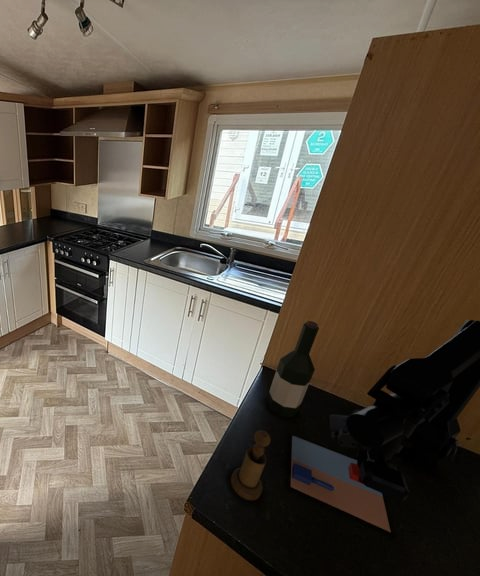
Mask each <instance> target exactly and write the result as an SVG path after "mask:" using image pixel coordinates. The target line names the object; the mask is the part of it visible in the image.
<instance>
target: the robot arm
mask: <svg viewBox="0 0 480 576" xmlns="http://www.w3.org/2000/svg"><path fill="white" fill-rule="evenodd" d="M384 387H385V388H386V390H388V391H389V392H391V393H390V394H389V393H388V392H386V391H384V390H382V389H383V388H384ZM479 389H480V320H474V319H466V320H465V321H464V323H462V325H461V326H460V327H459V329H457V331H456V332H455V334H454V335H453V337H451V338H450V339H448V340H447V341H446V342H444V343H443V344H442V345H440V346H439V347H438V348H436V349H435V350H433V351H432V352H431V353H430V354H428V355H426V356H425V357H414V358H413V357H411V358H407V359H406V360H404V361H402V362H401V363H400V364H397V365H396V364H393V365H392V366H391V367H390V368H388V369H387V370H386V371H385V373H383V375H382V376H380V378H379V379H378V380H377V381H376V383H375V384H374V385H373V386H372V387H371V388H370V389H369V390H368V391H367V393H366V394H367V396H369V397H371V398H372V399H374V400H375V401H374V402H373V403H372V404H371V405H369V406H367V407H365V408H363V409H355V410H352V412H351V414H350V415H341V414H330V415H329V426H330V434H331V440H332V441H333V442H335V443H337V445H338V446H340V447H342V448H349V449H356V448H357V455H356V460H357V465H358V466H359V468H360V475H359V479H358V480H359V482H361V483H363V484H364V485H365V486H366V487H369V488H371V489H373V490H376V491H378V492H381V493H382V495H385V496H388V497H391V498H393V499H396V500H397V501H399V502H404V501H406V499H407V498H408V497H409V495H410V490H409V487H408V483H407V481H406V477H405V476H404V474H403V473H402V472H401V471H400V470H398V468H397V466H396V464H395V463H394V462H392V461H395V462H398V463H401V462H404V463H406V464H410V465H412V466H414V467H418V468H420V469H423V470H426V471H429V472H431V473H434V474H436V473H437V470H436V468H435V467H436V464H437V463H438V462H439V461H440V459H441V460H443V459H453V457H454V456H455V455H456V454H457V451H458V448H459V440H458V439H456V438H457V437H458V435H459V434H460V433H461V431H462V430H461V427H460V424H459V421H458V418H459V416H460V415H461V413H462V412H463V410H464V409H465V408H466V407H467V405H468V404H469V402H470V401H471V400H472V398H473V397H474V396H475V394H476V393H477V392H478V390H479Z"/></svg>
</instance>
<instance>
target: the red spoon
mask: <svg viewBox="0 0 480 576" xmlns="http://www.w3.org/2000/svg"><path fill="white" fill-rule="evenodd" d="M348 470H349V477H350V479H351V480H354V481H356V482H359V480H358V479H359V475H360V468H359V466H358V465H357V464H354V463H350V465H349V467H348ZM359 483H361V482H359ZM361 484H363V483H361ZM363 485H364V484H363Z"/></svg>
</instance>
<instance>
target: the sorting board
mask: <svg viewBox="0 0 480 576" xmlns="http://www.w3.org/2000/svg"><path fill="white" fill-rule="evenodd" d="M294 463H296V464H298V465H300V466H303V467H305V468H308V469H310V470H312V477H314V478H317V479H319V480H321V481H323V482H326V483H328V484H330V485H332V486H333V487H334V490H333V491H331V490H328V489H326V488H324V487H322V486H319V485H317V484H315V483H312V482H311V484H310V486H309V485H307V484H305V483H302V482H300V481H298V480H296V479H293V478H292V467H293V465H294ZM350 463H354V464H357V459H354V458H352V457H350V456H347V455H344V454H341V453H339V452H336V451H333V450H331V449H328V448H326V447H323V446H321V445H318V444H315V443H313V442H310V441H308V440H305V439H303V438H300V437H298V436H295V435H292V436H291V466H290V488H292V489H295V490H297V491H299V492H301V493H302V494H305V495H308V496H309V497H312V498H314V499H317V500H319V501H320V502H323V503H325V504H327V505H330V506H331V507H334V508H337V509H339V510H340V511H343V512H345V513H347V514H349V515H352V516H354V517H357V519H358V518H359V519H360V520H363V521H365V522H366V523H369V524H371V525H373V526H376V527H378V528H381V529H382V530H384V531H387V532H389V533H391V532H392V531H391V526H390V523H389V518H388V513H387V510H386V505H385V501H384V500H385V499H384V496H383V495H384V494H383V493H381V492H378V491H376V490H373V489H371V488H369V487H366V486H365V485H363V484H361V483H359V482H356V481H354V480H351V479H350V477H349V470H348V467H349V465H350Z"/></svg>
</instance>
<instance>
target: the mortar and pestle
mask: <svg viewBox="0 0 480 576" xmlns="http://www.w3.org/2000/svg"><path fill="white" fill-rule="evenodd" d="M253 436H254V437H253V438H254V441H255V443H254V444H253V445H252V447H249V448H248V449H247V450H246V452H245V456H244V458H243V462H242V465H241V467H237V468H235V469H234V470H233V471H232V474H231V476H230V485H231V487H232V489H233V491H234V492H235V493H236V494H237V495H238V496H240V497H241V498H242V499H244V500H248V501H256V500H258V499H260V497H261V495H262V492H263V488H264V486H263V482H262V479H261V476H262V474H263V471H264V468H265V466H266V464H267V461H268V459H267V456H266V454H265V452H266V449H265V447H268V446H269V445H270V443H271V441H272V440H271V436H270V434H269V433H268V432H267V431H265V430H261V429H259V430H257V431H256V432H255V433H254V435H253Z"/></svg>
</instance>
